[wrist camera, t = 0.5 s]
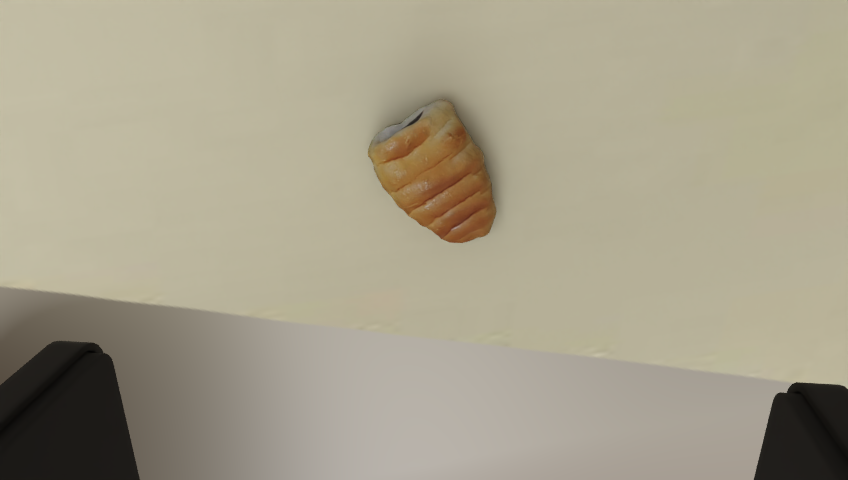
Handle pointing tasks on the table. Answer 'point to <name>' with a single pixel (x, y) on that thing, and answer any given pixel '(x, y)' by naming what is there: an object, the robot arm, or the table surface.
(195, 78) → the table surface
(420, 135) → the pastry
